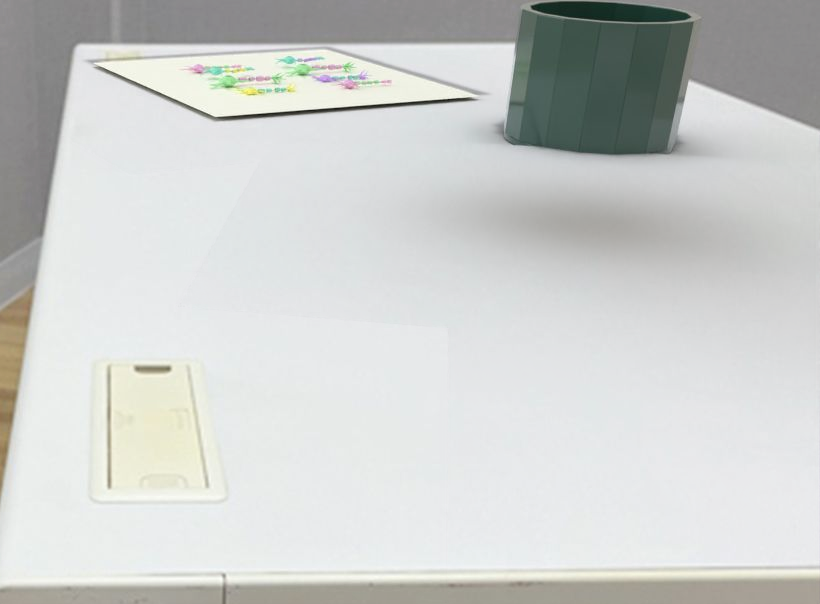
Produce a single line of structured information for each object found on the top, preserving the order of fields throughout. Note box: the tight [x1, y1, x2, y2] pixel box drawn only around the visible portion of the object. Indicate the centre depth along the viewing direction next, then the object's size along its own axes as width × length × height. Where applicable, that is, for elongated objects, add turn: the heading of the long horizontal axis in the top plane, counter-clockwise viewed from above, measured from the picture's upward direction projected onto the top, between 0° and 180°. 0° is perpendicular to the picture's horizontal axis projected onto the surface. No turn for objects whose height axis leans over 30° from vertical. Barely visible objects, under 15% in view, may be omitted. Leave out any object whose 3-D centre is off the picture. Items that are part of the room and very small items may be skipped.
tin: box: [503, 0, 703, 155], centre depth 104 cm, size 15×15×10 cm
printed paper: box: [93, 49, 479, 118], centre depth 127 cm, size 30×30×2 cm
